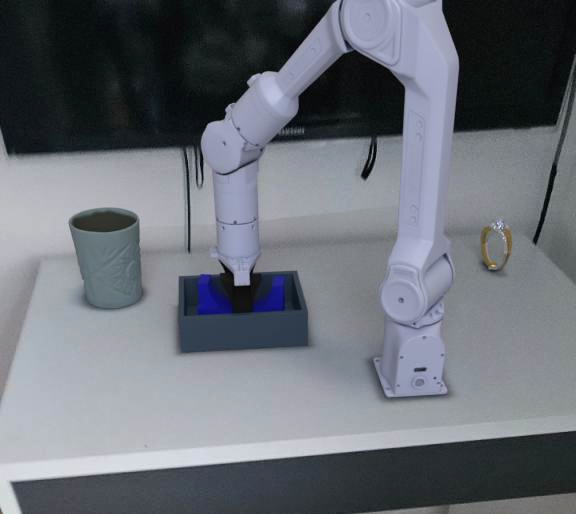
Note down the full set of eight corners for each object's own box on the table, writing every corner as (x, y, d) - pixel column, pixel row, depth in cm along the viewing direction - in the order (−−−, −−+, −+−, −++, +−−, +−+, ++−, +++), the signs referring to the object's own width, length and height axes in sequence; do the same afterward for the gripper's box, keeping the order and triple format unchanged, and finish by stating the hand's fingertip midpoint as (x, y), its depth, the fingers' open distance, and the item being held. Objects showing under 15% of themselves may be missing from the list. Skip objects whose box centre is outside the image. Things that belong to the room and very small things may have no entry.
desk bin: (307, 345, 107) (308, 312, 103) (181, 352, 106) (178, 318, 102) (296, 302, 117) (297, 270, 114) (182, 307, 116) (178, 275, 112)
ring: (472, 262, 128) (480, 214, 122) (490, 259, 128) (498, 211, 123) (492, 279, 123) (501, 229, 117) (510, 276, 123) (519, 227, 118)
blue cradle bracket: (199, 327, 109) (195, 288, 105) (204, 312, 113) (200, 274, 109) (282, 330, 109) (281, 290, 104) (284, 315, 112) (284, 276, 108)
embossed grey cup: (79, 287, 121) (65, 211, 113) (142, 278, 124) (132, 203, 116) (87, 315, 114) (72, 236, 106) (154, 305, 116) (144, 227, 108)
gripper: (205, 198, 106) (212, 290, 115) (208, 239, 95) (215, 337, 104) (256, 196, 106) (259, 288, 115) (264, 236, 96) (266, 334, 105)
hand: (241, 311), depth 110 cm, fingers closed on blue cradle bracket, 5 cm apart
